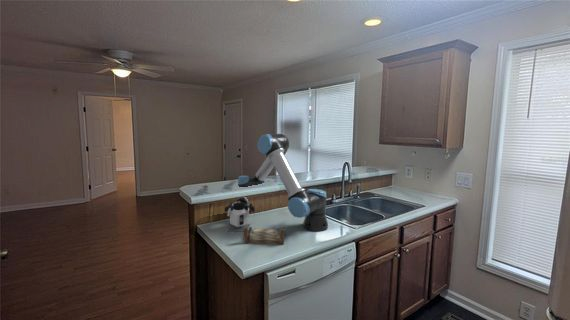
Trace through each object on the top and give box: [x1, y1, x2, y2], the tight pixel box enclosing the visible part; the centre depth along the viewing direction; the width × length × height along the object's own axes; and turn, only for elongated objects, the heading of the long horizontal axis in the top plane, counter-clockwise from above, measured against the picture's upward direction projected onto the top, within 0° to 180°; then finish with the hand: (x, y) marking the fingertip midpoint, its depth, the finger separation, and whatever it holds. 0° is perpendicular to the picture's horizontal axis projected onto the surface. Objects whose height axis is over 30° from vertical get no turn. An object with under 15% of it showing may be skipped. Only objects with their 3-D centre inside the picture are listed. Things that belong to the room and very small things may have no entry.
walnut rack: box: [243, 226, 285, 246], centre depth 146 cm, size 21×17×8 cm
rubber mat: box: [227, 223, 251, 233], centre depth 158 cm, size 11×11×1 cm
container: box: [229, 201, 249, 227], centre depth 157 cm, size 8×8×13 cm
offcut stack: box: [249, 228, 280, 241], centre depth 141 cm, size 16×5×4 cm, turn 88°
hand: (238, 214), depth 153 cm, fingers closed on container, 10 cm apart
